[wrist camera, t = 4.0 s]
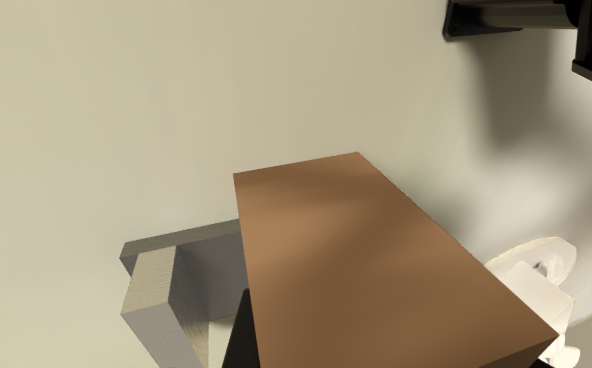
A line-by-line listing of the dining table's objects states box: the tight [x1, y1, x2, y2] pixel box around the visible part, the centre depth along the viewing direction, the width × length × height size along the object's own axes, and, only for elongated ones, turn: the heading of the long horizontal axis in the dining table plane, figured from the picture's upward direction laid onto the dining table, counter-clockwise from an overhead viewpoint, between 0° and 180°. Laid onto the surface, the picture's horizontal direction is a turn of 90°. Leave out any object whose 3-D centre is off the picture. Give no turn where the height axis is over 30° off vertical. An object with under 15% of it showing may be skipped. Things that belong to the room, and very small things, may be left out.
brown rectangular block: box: [233, 152, 560, 368], centre depth 8 cm, size 4×8×6 cm, turn 2°
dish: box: [483, 237, 580, 368], centre depth 39 cm, size 25×25×11 cm
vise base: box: [119, 219, 249, 368], centre depth 22 cm, size 22×10×6 cm, turn 92°
